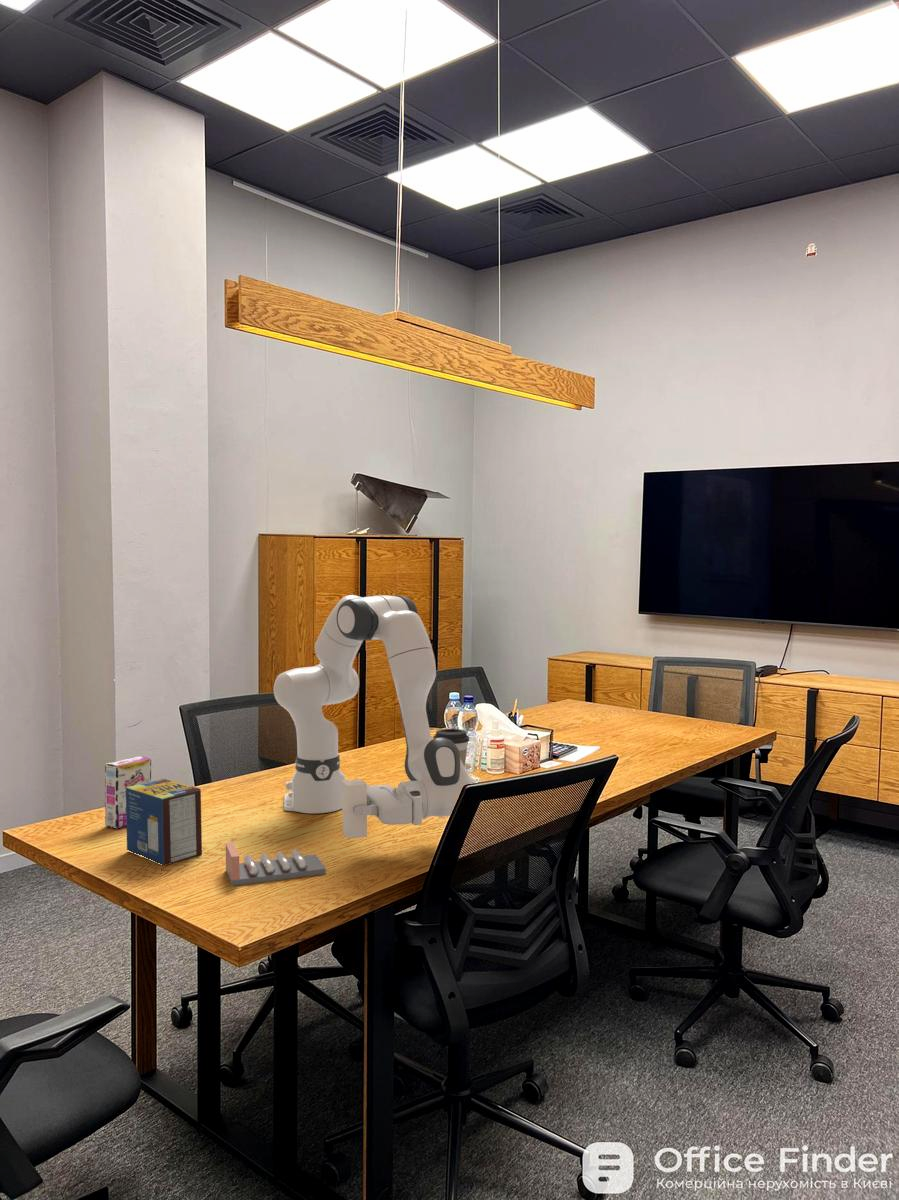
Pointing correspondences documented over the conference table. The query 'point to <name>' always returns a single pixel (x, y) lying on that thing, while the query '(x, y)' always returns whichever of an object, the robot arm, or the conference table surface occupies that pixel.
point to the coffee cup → (455, 740)
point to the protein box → (164, 821)
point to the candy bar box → (123, 786)
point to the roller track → (279, 871)
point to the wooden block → (351, 796)
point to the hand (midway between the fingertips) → (350, 806)
